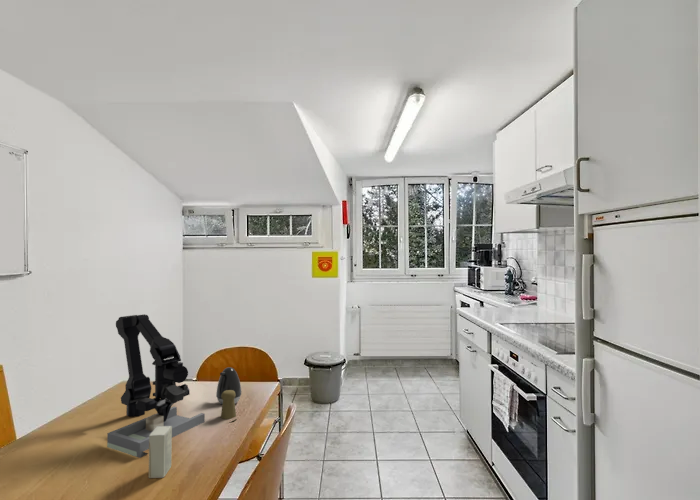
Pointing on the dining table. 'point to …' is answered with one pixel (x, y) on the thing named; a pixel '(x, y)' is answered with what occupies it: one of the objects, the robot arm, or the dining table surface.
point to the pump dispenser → (228, 384)
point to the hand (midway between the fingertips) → (164, 421)
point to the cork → (228, 405)
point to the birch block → (154, 422)
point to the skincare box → (160, 451)
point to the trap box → (148, 433)
